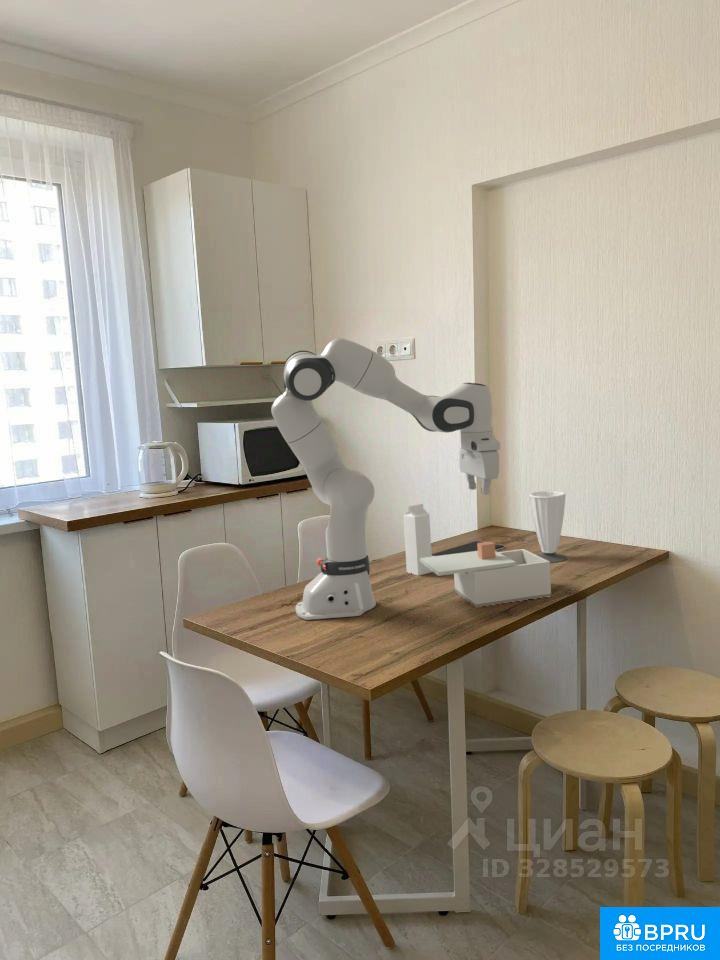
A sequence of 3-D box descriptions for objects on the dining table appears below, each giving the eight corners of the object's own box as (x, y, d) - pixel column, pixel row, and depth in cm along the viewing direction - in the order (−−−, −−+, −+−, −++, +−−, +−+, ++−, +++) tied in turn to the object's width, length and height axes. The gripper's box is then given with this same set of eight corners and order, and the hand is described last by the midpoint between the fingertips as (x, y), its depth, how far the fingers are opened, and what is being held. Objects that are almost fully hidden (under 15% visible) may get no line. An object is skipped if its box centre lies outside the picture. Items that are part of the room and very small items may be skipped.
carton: (475, 608, 191) (473, 571, 190) (454, 591, 207) (452, 558, 205) (551, 596, 196) (549, 561, 194) (524, 581, 211) (523, 548, 210)
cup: (532, 553, 242) (529, 491, 239) (567, 553, 239) (565, 490, 236) (530, 562, 231) (528, 497, 228) (567, 562, 228) (565, 496, 225)
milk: (406, 572, 230) (401, 505, 227) (421, 568, 233) (416, 502, 230) (418, 576, 225) (414, 507, 222) (433, 572, 228) (428, 504, 225)
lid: (438, 575, 188) (437, 557, 187) (420, 561, 203) (419, 544, 202) (515, 565, 192) (515, 547, 192) (492, 552, 208) (491, 535, 207)
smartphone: (506, 549, 253) (506, 545, 252) (455, 566, 235) (455, 561, 235) (476, 544, 263) (476, 540, 262) (426, 560, 245) (425, 555, 245)
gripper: (453, 440, 205) (454, 487, 207) (480, 445, 185) (482, 498, 187) (473, 438, 206) (475, 485, 208) (502, 443, 186) (504, 495, 188)
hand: (478, 491), depth 197 cm, fingers open, 8 cm apart
